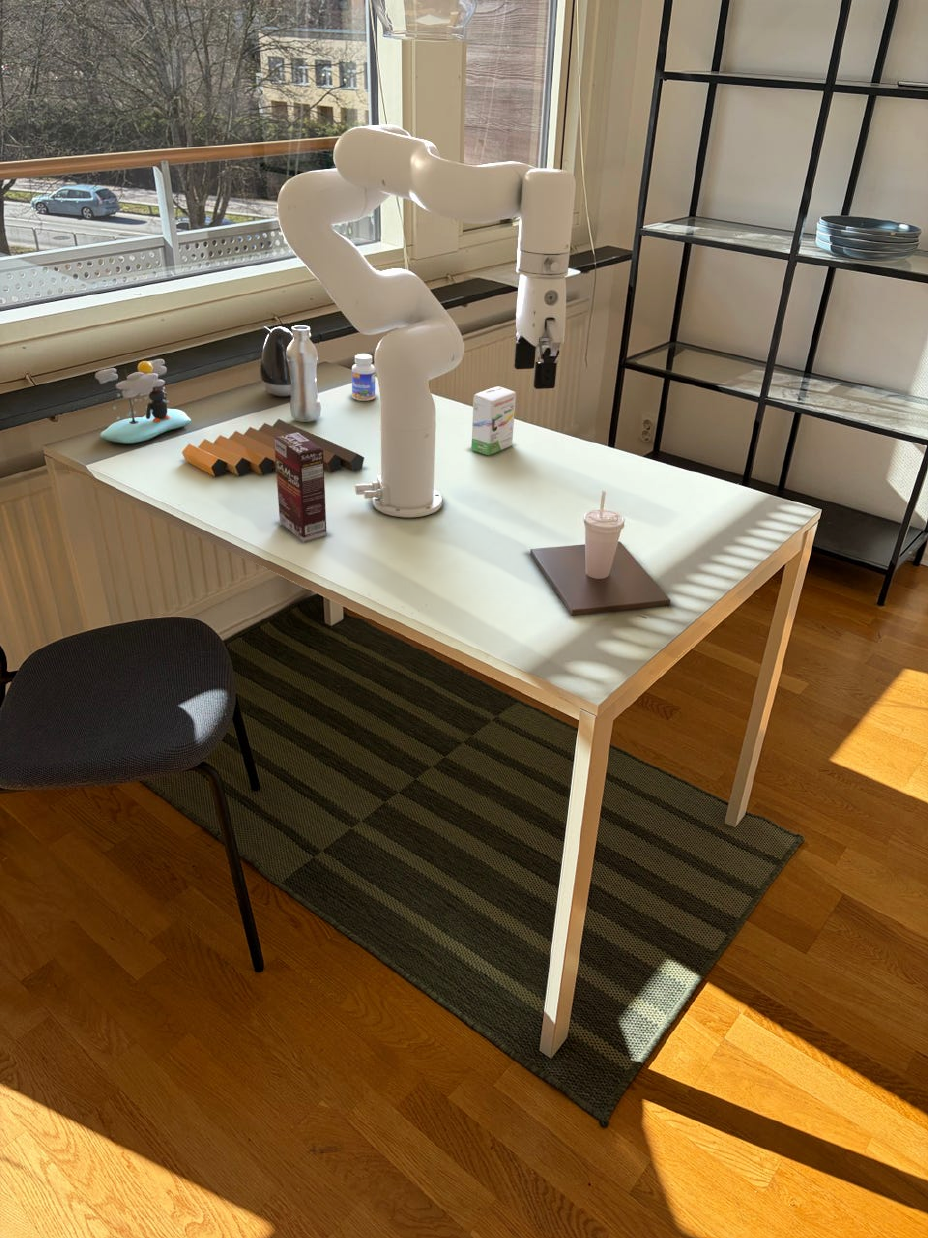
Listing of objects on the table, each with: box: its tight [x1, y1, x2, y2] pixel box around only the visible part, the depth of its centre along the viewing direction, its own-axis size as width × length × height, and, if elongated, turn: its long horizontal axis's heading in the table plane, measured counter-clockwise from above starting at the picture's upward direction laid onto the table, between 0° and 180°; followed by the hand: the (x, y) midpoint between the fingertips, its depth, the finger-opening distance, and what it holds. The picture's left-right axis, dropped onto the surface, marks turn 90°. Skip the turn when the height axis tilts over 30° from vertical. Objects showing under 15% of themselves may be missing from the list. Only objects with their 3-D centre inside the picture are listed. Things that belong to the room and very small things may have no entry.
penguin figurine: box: [94, 358, 193, 444], centre depth 195 cm, size 20×11×15 cm, turn 144°
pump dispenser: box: [259, 326, 293, 397], centre depth 220 cm, size 10×10×15 cm
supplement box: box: [274, 432, 328, 543], centre depth 159 cm, size 9×5×16 cm, turn 37°
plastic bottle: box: [286, 325, 322, 423], centre depth 204 cm, size 6×7×20 cm
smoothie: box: [582, 490, 626, 579], centre depth 149 cm, size 6×6×14 cm
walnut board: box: [529, 540, 671, 616], centre depth 153 cm, size 16×20×1 cm
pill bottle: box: [351, 353, 376, 402], centre depth 220 cm, size 5×5×10 cm
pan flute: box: [181, 418, 365, 477], centre depth 186 cm, size 25×3×25 cm
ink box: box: [470, 385, 517, 456], centre depth 196 cm, size 8×5×12 cm, turn 141°
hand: (533, 377), depth 149 cm, fingers open, 9 cm apart
